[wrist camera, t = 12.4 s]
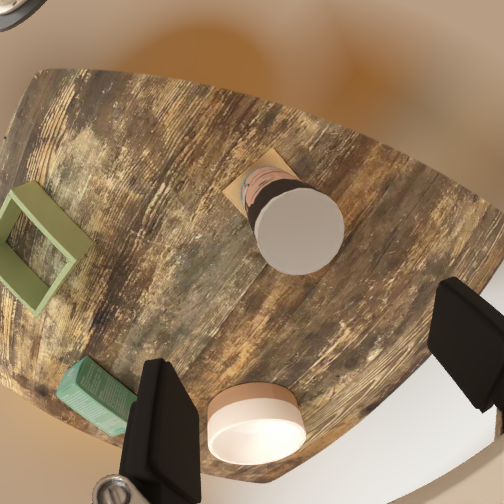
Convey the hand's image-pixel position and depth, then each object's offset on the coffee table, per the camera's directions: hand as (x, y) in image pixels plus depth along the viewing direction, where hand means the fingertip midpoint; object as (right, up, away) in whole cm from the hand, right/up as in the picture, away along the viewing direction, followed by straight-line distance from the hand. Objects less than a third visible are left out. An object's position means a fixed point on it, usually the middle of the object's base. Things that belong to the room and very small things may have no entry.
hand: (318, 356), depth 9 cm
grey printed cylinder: (0, +10, +27) cm, 29 cm away
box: (-29, -20, +36) cm, 51 cm away
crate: (-32, +5, +25) cm, 41 cm away
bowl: (-2, -27, +42) cm, 50 cm away
